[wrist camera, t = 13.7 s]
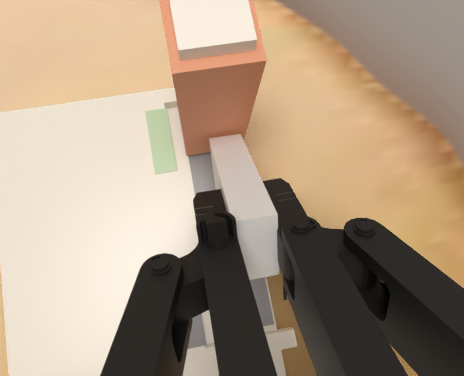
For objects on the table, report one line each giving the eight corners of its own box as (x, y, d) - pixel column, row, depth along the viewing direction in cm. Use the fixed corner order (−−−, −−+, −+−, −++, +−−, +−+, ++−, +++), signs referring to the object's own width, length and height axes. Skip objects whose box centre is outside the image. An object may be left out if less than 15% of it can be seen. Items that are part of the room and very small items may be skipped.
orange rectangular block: (186, 156, 21) (170, 63, 12) (177, 104, 22) (155, -25, 12) (241, 147, 21) (269, 50, 12) (231, 96, 22) (250, -36, 12)
